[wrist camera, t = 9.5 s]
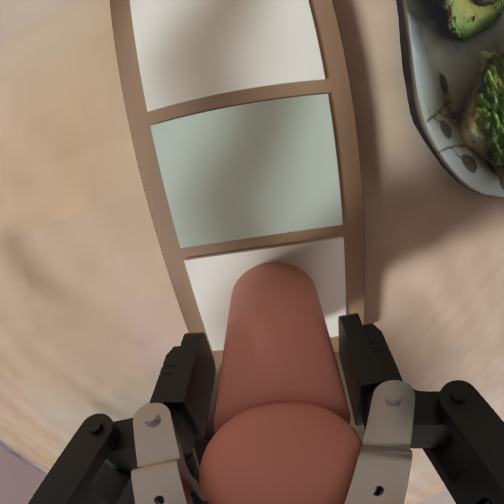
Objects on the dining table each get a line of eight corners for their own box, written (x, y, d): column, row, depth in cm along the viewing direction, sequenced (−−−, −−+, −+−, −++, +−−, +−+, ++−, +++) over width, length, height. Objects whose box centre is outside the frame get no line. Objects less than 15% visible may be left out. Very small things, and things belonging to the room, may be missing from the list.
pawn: (318, 251, 13) (402, 510, 3) (323, 330, 15) (368, 545, 5) (217, 266, 14) (157, 526, 4) (236, 342, 15) (217, 557, 6)
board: (283, -112, 6) (285, -128, 5) (356, 330, 17) (363, 349, 15) (117, -76, 7) (104, -88, 6) (205, 348, 18) (201, 368, 16)
